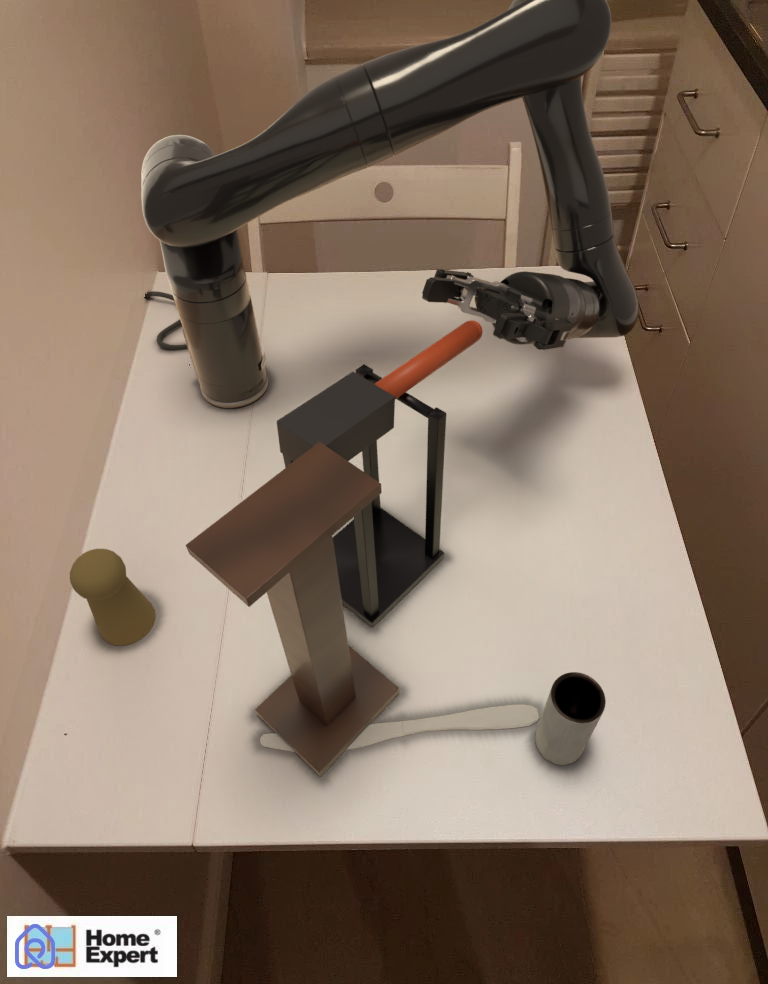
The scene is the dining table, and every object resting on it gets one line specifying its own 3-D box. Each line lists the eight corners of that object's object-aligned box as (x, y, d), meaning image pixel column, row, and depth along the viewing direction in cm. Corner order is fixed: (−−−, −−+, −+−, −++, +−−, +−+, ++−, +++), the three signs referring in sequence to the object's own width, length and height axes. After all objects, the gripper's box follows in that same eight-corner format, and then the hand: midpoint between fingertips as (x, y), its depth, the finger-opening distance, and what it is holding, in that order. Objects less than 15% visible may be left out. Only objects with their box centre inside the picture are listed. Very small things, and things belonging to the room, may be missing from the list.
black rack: (301, 570, 81) (270, 427, 64) (373, 507, 87) (363, 359, 69) (372, 627, 76) (360, 491, 59) (444, 557, 82) (453, 412, 64)
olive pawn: (141, 650, 76) (107, 596, 67) (88, 640, 76) (48, 585, 68) (164, 601, 79) (134, 543, 71) (113, 592, 80) (77, 534, 72)
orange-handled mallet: (280, 452, 61) (276, 420, 59) (456, 331, 73) (460, 301, 71) (320, 481, 59) (318, 450, 56) (496, 352, 71) (501, 321, 69)
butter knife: (542, 732, 68) (536, 701, 70) (259, 759, 68) (259, 727, 70) (541, 734, 69) (535, 703, 71) (260, 760, 68) (261, 729, 70)
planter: (586, 726, 69) (609, 680, 61) (579, 772, 66) (601, 730, 58) (540, 712, 70) (556, 665, 62) (530, 756, 67) (546, 713, 59)
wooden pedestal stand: (253, 718, 71) (170, 532, 47) (339, 635, 76) (305, 431, 52) (316, 781, 67) (262, 613, 43) (402, 689, 72) (397, 494, 48)
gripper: (499, 251, 81) (417, 239, 68) (610, 301, 74) (543, 298, 62) (475, 315, 84) (392, 314, 72) (579, 368, 78) (509, 378, 65)
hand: (462, 307), depth 67 cm, fingers open, 8 cm apart
